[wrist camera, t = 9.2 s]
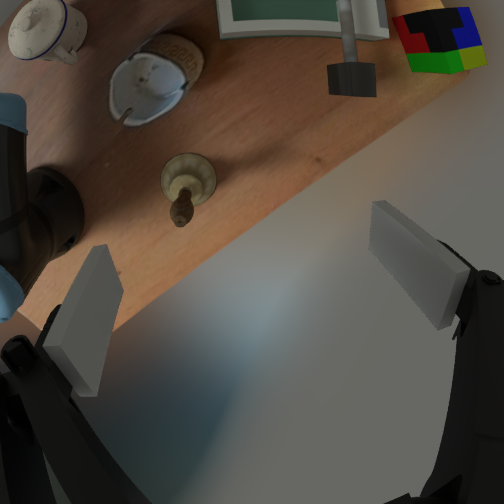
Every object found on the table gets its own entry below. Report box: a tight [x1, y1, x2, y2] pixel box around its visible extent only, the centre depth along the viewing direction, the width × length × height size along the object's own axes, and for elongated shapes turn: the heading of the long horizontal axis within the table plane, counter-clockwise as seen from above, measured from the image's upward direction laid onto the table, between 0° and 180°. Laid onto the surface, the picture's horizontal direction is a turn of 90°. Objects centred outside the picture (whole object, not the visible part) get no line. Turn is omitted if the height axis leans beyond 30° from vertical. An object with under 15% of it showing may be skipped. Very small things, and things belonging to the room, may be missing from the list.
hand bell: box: [161, 153, 216, 227], centre depth 37 cm, size 8×8×16 cm
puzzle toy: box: [392, 7, 487, 74], centre depth 32 cm, size 10×10×10 cm
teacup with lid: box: [8, 0, 87, 65], centre depth 25 cm, size 12×9×12 cm
